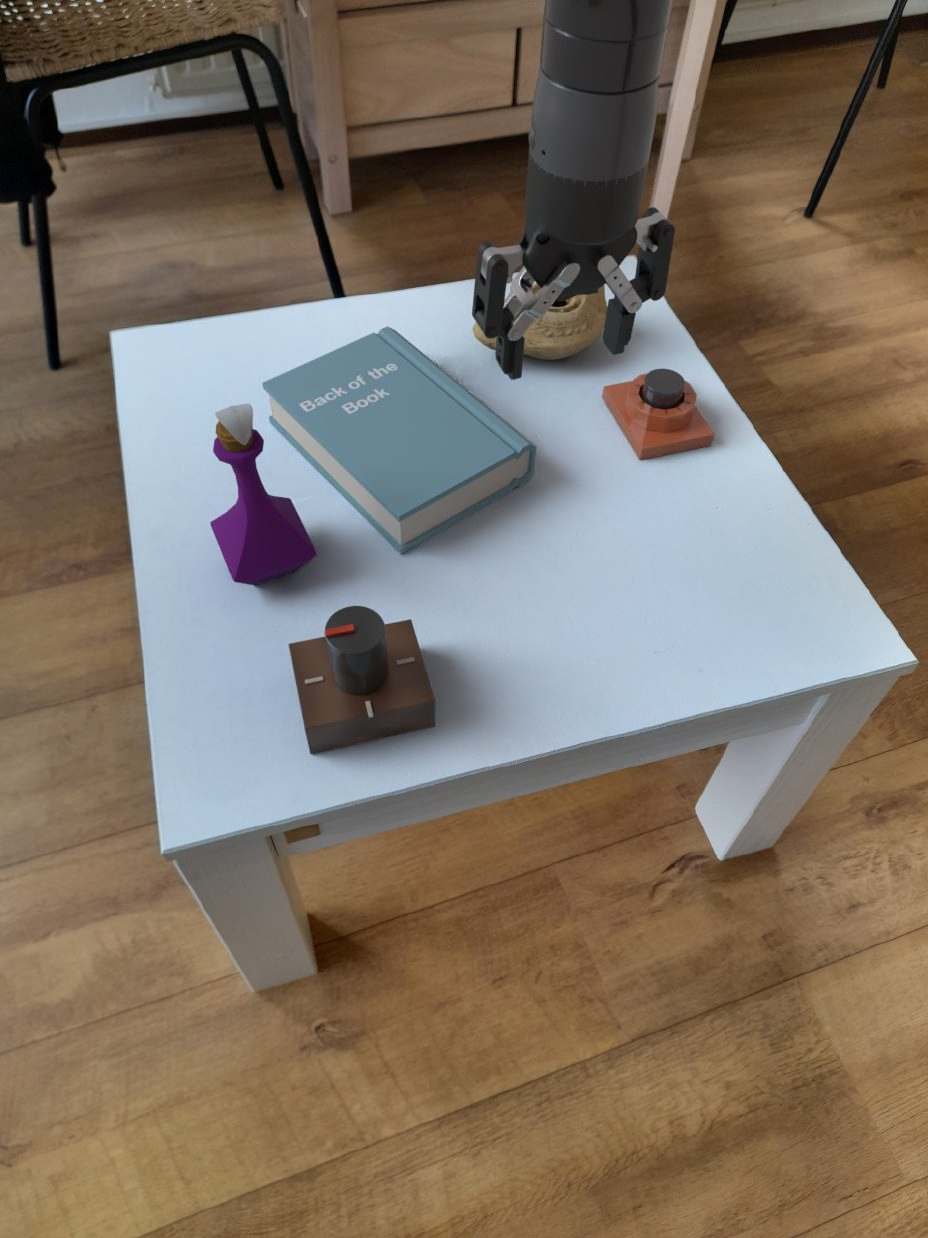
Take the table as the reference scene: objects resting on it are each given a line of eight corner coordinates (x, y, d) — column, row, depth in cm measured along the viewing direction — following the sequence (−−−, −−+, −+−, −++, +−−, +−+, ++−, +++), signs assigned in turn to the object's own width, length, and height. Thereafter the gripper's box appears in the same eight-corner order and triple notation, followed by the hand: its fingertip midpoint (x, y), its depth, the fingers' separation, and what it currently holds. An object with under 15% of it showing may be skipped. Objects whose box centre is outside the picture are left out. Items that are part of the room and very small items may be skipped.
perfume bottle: (216, 546, 85) (170, 389, 70) (294, 522, 87) (265, 364, 72) (240, 605, 81) (196, 451, 66) (321, 578, 83) (296, 423, 68)
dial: (381, 642, 74) (377, 597, 69) (394, 688, 71) (390, 644, 66) (327, 654, 73) (319, 609, 68) (337, 700, 70) (329, 656, 66)
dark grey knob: (687, 406, 93) (692, 389, 91) (651, 413, 92) (654, 397, 90) (670, 381, 95) (674, 365, 94) (635, 388, 94) (638, 371, 93)
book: (269, 422, 95) (262, 382, 91) (396, 362, 101) (394, 322, 97) (400, 554, 84) (398, 516, 80) (533, 478, 91) (537, 439, 87)
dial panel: (411, 644, 78) (410, 614, 75) (436, 729, 73) (436, 702, 70) (294, 668, 77) (287, 639, 73) (311, 758, 72) (304, 731, 68)
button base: (711, 445, 94) (720, 418, 91) (639, 460, 92) (645, 433, 90) (670, 384, 100) (676, 357, 97) (601, 397, 98) (606, 370, 95)
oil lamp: (456, 341, 103) (457, 277, 97) (566, 302, 108) (574, 239, 102) (509, 397, 98) (513, 333, 91) (622, 353, 103) (634, 289, 96)
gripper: (508, 195, 54) (495, 413, 67) (720, 154, 57) (668, 369, 70) (461, 136, 58) (457, 351, 71) (660, 101, 61) (622, 313, 74)
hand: (562, 360), depth 70 cm, fingers open, 8 cm apart
